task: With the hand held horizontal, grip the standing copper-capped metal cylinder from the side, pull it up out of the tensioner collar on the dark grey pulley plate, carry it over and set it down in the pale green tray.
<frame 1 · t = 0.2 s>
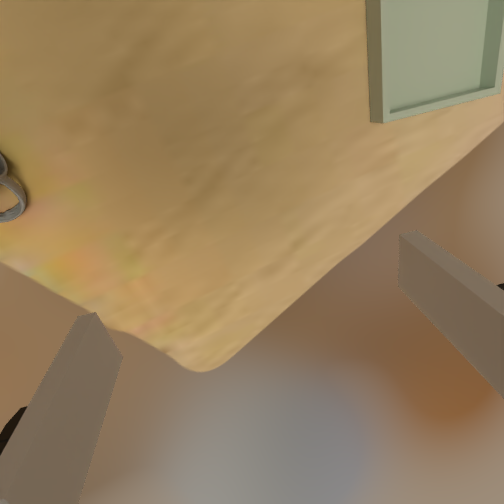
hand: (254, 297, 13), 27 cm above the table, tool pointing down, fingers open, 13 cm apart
tray: (427, 40, 34), on the table
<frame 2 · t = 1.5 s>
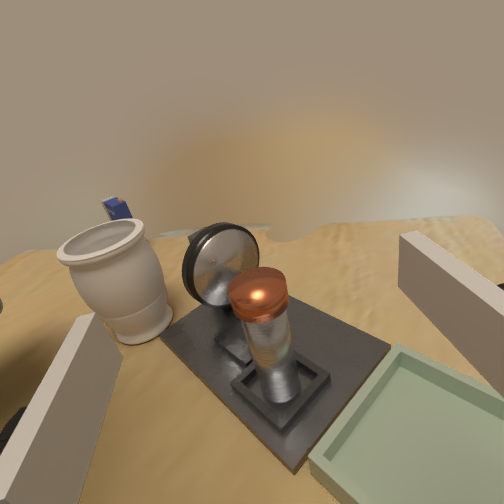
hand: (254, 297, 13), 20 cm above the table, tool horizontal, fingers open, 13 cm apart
copper-capped metal cylinder: (280, 384, 31), point 1 cm above the table, touching pulley plate
tray: (441, 468, 24), on the table
pulley plate: (262, 344, 38), on the table
jar: (146, 325, 46), on the table
walkman: (135, 250, 68), on the table
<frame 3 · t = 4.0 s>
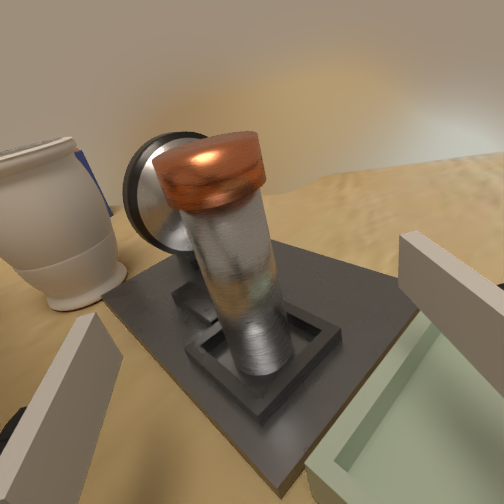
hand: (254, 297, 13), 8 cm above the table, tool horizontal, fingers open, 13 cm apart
copper-capped metal cylinder: (262, 349, 20), point 1 cm above the table, touching pulley plate
pulley plate: (240, 301, 26), on the table
jar: (91, 288, 34), on the table
walkman: (99, 216, 57), on the table
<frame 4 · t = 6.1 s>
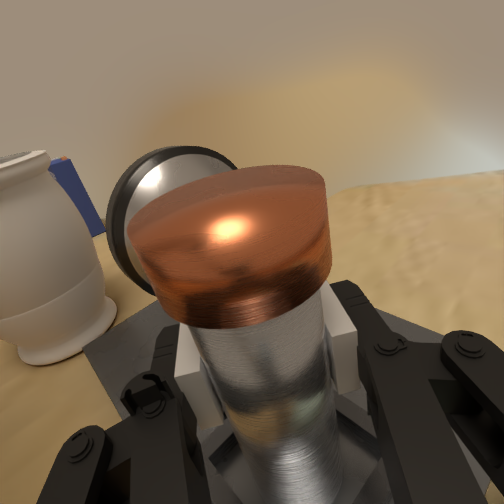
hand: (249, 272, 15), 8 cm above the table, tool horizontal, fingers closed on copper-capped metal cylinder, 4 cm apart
copper-capped metal cylinder: (297, 463, 14), point 1 cm above the table, touching gripper, pulley plate
pulley plate: (259, 367, 20), on the table
jar: (73, 331, 28), on the table
walkman: (91, 231, 51), on the table
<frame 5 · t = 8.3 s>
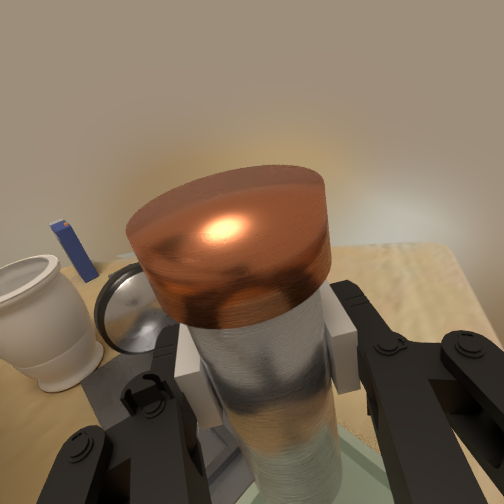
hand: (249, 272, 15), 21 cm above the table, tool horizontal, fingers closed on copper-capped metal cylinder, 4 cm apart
copper-capped metal cylinder: (296, 464, 14), point 14 cm above the table, touching gripper
pulley plate: (185, 397, 34), on the table
jar: (74, 367, 42), on the table
walkman: (87, 274, 65), on the table
when the fingers open (9 cm above the table, at t = 10.7 s): copper-capped metal cylinder drops 1 cm, resting on tray.
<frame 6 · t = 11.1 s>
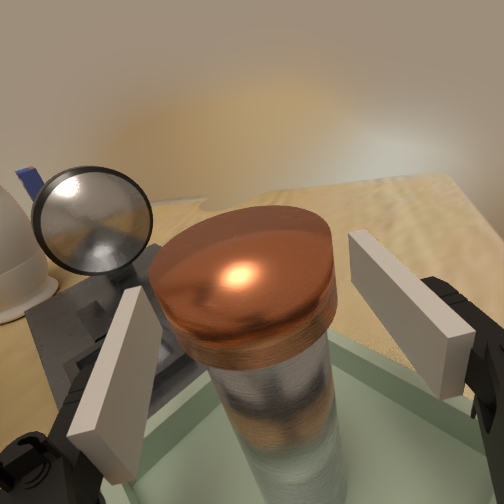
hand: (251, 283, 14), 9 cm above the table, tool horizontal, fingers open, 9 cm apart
copper-capped metal cylinder: (302, 478, 15), point 1 cm above the table, touching tray
tray: (303, 485, 15), on the table
pulley plate: (139, 319, 29), on the table
jar: (24, 303, 37), on the table
walkman: (58, 228, 60), on the table
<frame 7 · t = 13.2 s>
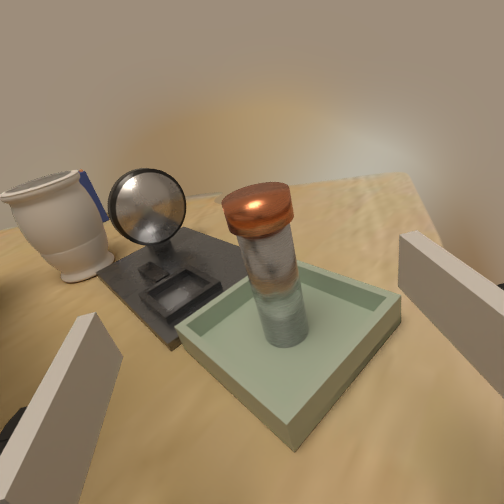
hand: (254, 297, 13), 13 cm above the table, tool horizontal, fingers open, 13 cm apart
copper-capped metal cylinder: (286, 330, 28), point 1 cm above the table, touching tray
tray: (287, 336, 28), on the table
pulley plate: (180, 273, 42), on the table
jar: (90, 269, 51), on the table
walkman: (99, 220, 74), on the table
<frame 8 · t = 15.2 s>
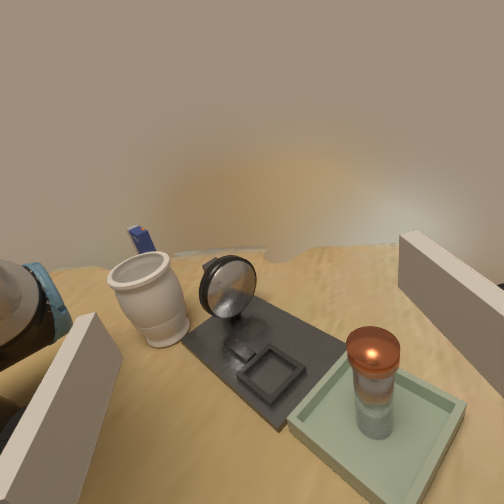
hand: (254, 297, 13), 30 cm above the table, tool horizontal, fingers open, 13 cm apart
copper-capped metal cylinder: (374, 422, 36), point 1 cm above the table, touching tray
tray: (373, 425, 36), on the table
pulley plate: (259, 346, 50), on the table
jar: (169, 332, 59), on the table
walkman: (153, 268, 82), on the table
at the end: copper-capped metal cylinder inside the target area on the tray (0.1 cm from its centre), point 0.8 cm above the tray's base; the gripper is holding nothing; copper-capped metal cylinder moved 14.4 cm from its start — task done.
